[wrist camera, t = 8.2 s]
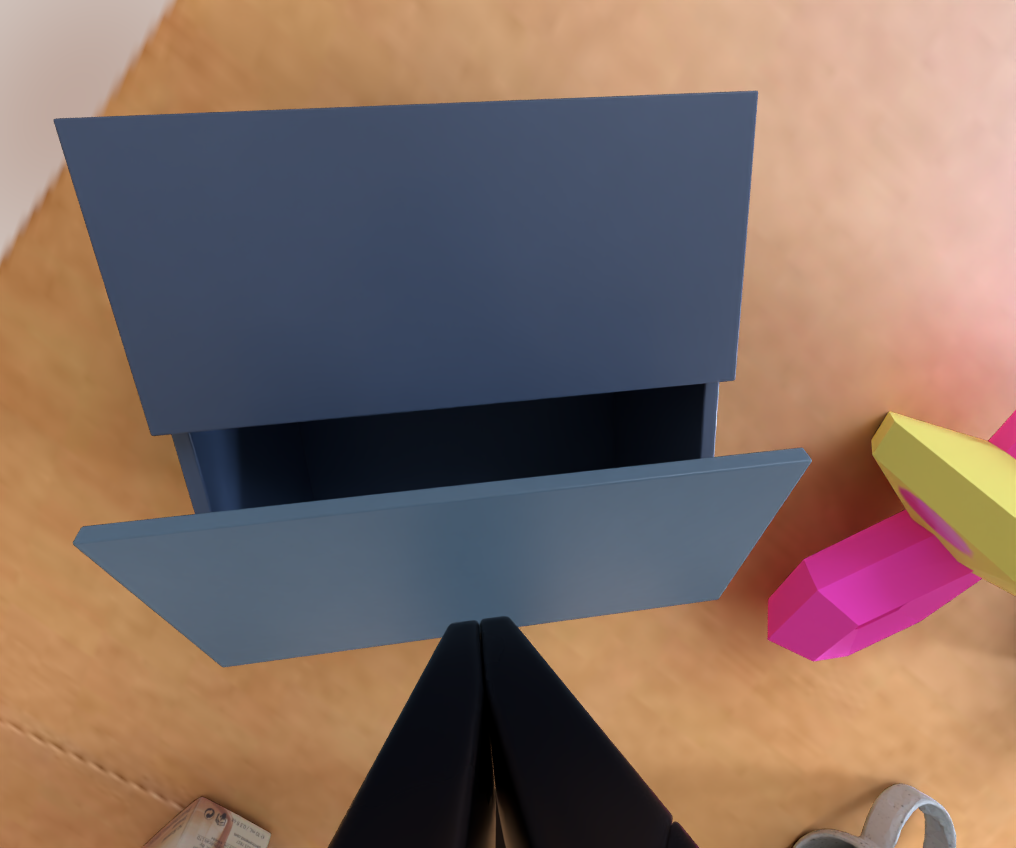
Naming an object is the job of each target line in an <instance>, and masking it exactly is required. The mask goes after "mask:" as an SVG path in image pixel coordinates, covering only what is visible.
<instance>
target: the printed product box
mask: <svg viewBox="0 0 1016 848" xmlns="http://www.w3.org/2000/svg"><path fill="white" fill-rule="evenodd" d="M270 837H271V833H269V832H268V831H266V830H264V829H262V828H260V827H259V826H257V825H255V824H253V823H251V822H250V821H248V820H246V819H244V818H243V817H241V816H239V815H237V814H235V813H233V812H231V811H229V810H227V809H225V808H224V807H222V806H220V805H218V804H216V803H214V802H212V801H210V800H208V799H206V798H204V797H200V798H198V799H197V800H195V801H194V802H193V803H192V804H190V805H189V806H188V807H187V808H185V809H184V810H183V811H182V812H181V813H180V814H178V815H177V816H176V817H175V818H174V819H172V820H171V821H170V822H169V823H168V824H167V825H166V826H165V827H163V828H162V829H161V830H160V831H159V832H158V833H157V834H156V835H155V836H154V837H153V838H152V839H150V840H149V841H148V842H147V843H146V844H145V845H144V846H143V847H142V848H267V846H268V844H269V840H270Z"/></svg>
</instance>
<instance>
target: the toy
mask: <svg viewBox="0 0 1016 848" xmlns="http://www.w3.org/2000/svg"><path fill="white" fill-rule="evenodd" d="M871 441H872V455H873V457H874V458H875V460H876V462H877V463H878V465H879V466H880V468H881V470H882V471H883V473H884V475H885V476H886V478H887V479H888V481H889V483H890V484H891V486H892V488H893V489H894V491H895V492H896V494H897V496H898V497H899V499H900V500H901V502H902V504H903V505H904V507H905V510H903V511H901V512H899V513H897V514H895V515H893V516H891V517H889V518H887V519H885V520H883V521H881V522H879V523H877V524H875V525H873V526H870V527H868V528H866V529H864V530H862V531H860V532H858V533H856V534H854V535H852V536H850V537H848V538H846V539H844V540H842V541H840V542H838V543H836V544H834V545H832V546H830V547H828V548H826V549H823V550H821V551H819V552H817V553H815V554H813V555H811V556H809V557H807V558H805V559H803V560H802V562H801V563H800V564H799V565H798V566H797V567H796V568H795V569H794V571H793V572H792V573H791V574H790V575H789V576H788V577H787V578H786V580H785V581H784V582H783V583H782V584H781V585H780V586H779V587H778V589H777V590H776V591H775V592H774V593H773V594H772V595H771V596H770V598H769V599H768V640H769V641H771V642H774V643H776V644H778V645H780V646H782V647H784V648H786V649H788V650H790V651H792V652H795V653H797V654H799V655H801V656H803V657H805V658H807V659H809V660H811V661H819V660H825V659H832V658H838V657H844V656H849V655H851V654H853V653H855V652H857V651H859V650H861V649H863V648H866V647H868V646H870V645H872V644H874V643H876V642H878V641H880V640H882V639H884V638H887V637H889V636H891V635H893V634H895V633H897V632H899V631H901V630H903V629H906V628H908V627H910V626H912V625H914V624H916V623H918V622H920V621H922V620H923V619H924V618H926V617H927V616H929V615H930V614H932V613H933V612H935V611H936V610H937V609H939V608H940V607H942V606H943V605H945V604H946V603H948V602H949V601H951V600H952V599H953V598H955V597H956V596H958V595H959V594H961V593H962V592H964V591H965V590H966V589H968V588H969V587H971V586H972V585H974V584H975V583H977V582H978V581H979V580H981V579H984V580H986V581H988V582H990V583H992V584H994V585H995V586H997V587H999V588H1001V589H1003V590H1005V591H1007V592H1008V593H1010V594H1012V595H1014V596H1016V410H1015V411H1014V413H1013V414H1012V415H1011V416H1010V417H1009V418H1008V419H1007V420H1006V422H1005V423H1004V424H1003V425H1002V426H1001V427H1000V428H999V429H998V431H997V432H996V433H995V434H994V435H993V436H992V437H991V438H990V440H989V441H986V440H983V439H979V438H976V437H973V436H969V435H966V434H963V433H959V432H956V431H953V430H949V429H946V428H943V427H939V426H936V425H933V424H929V423H926V422H923V421H920V420H916V419H913V418H910V417H906V416H903V415H900V414H896V413H893V412H890V411H889V412H888V414H887V415H886V417H885V419H884V420H883V422H882V424H881V425H880V427H879V428H878V430H877V432H876V433H875V435H874V437H873V438H872V440H871Z"/></svg>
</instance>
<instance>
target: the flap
mask: <svg viewBox="0 0 1016 848" xmlns="http://www.w3.org/2000/svg"><path fill="white" fill-rule="evenodd" d="M811 462H812V460H811V458H810V457H809V455H808V454H807V453H806V451H805V450H804V449H803V448H793V449H784V450H775V451H766V452H756V453H747V454H738V455H729V456H720V457H711V458H702V459H693V460H684V461H675V462H665V463H656V464H647V465H638V466H629V467H620V468H611V469H602V470H593V471H583V472H574V473H565V474H556V475H547V476H538V477H529V478H520V479H511V480H502V481H492V482H483V483H474V484H465V485H456V486H447V487H438V488H429V489H420V490H411V491H401V492H392V493H383V494H374V495H365V496H356V497H347V498H338V499H329V500H319V501H310V502H301V503H292V504H283V505H274V506H265V507H256V508H247V509H238V510H228V511H219V512H210V513H201V514H192V515H183V516H174V517H165V518H156V519H146V520H137V521H128V522H119V523H110V524H101V525H92V526H83V527H82V528H81V529H80V531H79V532H78V534H77V536H76V538H75V540H74V541H73V545H74V546H75V547H77V548H78V549H79V550H80V551H81V552H83V553H84V554H85V555H86V556H88V557H89V558H90V559H91V560H92V561H94V562H95V563H96V564H97V565H99V566H100V567H101V568H102V569H103V570H105V571H106V572H107V573H108V574H109V575H111V576H112V577H113V578H114V579H116V580H117V581H118V582H119V583H120V584H122V585H123V586H124V587H125V588H127V589H128V590H129V591H130V592H131V593H133V594H134V595H135V596H136V597H138V598H139V599H140V600H141V601H142V602H144V603H145V604H146V605H147V606H148V607H150V608H151V609H152V610H153V611H155V612H156V613H157V614H158V615H159V616H161V617H162V618H163V619H164V620H166V621H167V622H168V623H169V624H170V625H172V626H173V627H174V628H175V629H177V630H178V631H179V632H180V633H181V634H183V635H184V636H185V637H186V638H187V639H189V640H190V641H191V642H192V643H194V644H195V645H196V646H197V647H198V648H200V649H201V650H202V651H203V652H205V653H206V654H207V655H208V656H209V657H211V658H212V659H213V660H214V661H215V662H217V663H218V664H219V665H220V666H222V667H230V666H237V665H244V664H251V663H259V662H266V661H273V660H281V659H288V658H295V657H303V656H310V655H317V654H324V653H332V652H339V651H346V650H354V649H361V648H368V647H375V646H383V645H390V644H397V643H405V642H412V641H419V640H426V639H434V638H441V637H442V636H443V635H444V633H445V631H446V629H447V627H448V626H449V625H450V624H451V623H455V622H462V621H470V620H476V621H478V623H479V626H480V622H481V620H482V619H485V618H492V617H500V616H507V617H509V618H510V619H511V620H512V621H513V622H514V623H515V625H516V626H517V627H521V626H528V625H536V624H543V623H550V622H558V621H565V620H572V619H579V618H587V617H594V616H601V615H609V614H616V613H623V612H630V611H638V610H645V609H652V608H660V607H667V606H674V605H681V604H689V603H696V602H703V601H711V600H718V599H719V598H720V596H721V595H722V593H723V592H724V590H725V589H726V587H727V586H728V584H729V583H730V581H731V580H732V578H733V577H734V575H735V574H736V573H737V571H738V570H739V568H740V567H741V565H742V564H743V562H744V561H745V559H746V558H747V556H748V555H749V553H750V552H751V550H752V549H753V547H754V546H755V544H756V543H757V542H758V540H759V539H760V537H761V536H762V534H763V533H764V531H765V530H766V528H767V527H768V525H769V524H770V522H771V521H772V519H773V518H774V516H775V515H776V513H777V512H778V510H779V509H780V508H781V506H782V505H783V503H784V502H785V500H786V499H787V497H788V496H789V494H790V493H791V491H792V490H793V488H794V487H795V485H796V484H797V482H798V481H799V479H800V478H801V477H802V475H803V474H804V472H805V471H806V469H807V468H808V466H809V465H810V463H811Z"/></svg>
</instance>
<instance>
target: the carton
mask: <svg viewBox="0 0 1016 848" xmlns="http://www.w3.org/2000/svg"><path fill="white" fill-rule="evenodd" d="M757 99H758V91H737V92H712V93H687V94H662V95H637V96H612V97H586V98H561V99H536V100H511V101H486V102H461V103H436V104H411V105H386V106H361V107H335V108H310V109H285V110H260V111H235V112H210V113H185V114H160V115H135V116H110V117H87V118H86V117H85V118H60V119H54V124H55V127H56V130H57V133H58V136H59V140H60V143H61V146H62V150H63V153H64V156H65V159H66V162H67V166H68V169H69V172H70V175H71V179H72V182H73V185H74V188H75V191H76V195H77V198H78V201H79V204H80V208H81V211H82V214H83V217H84V220H85V224H86V227H87V230H88V233H89V237H90V240H91V243H92V246H93V249H94V253H95V256H96V259H97V262H98V265H99V269H100V272H101V275H102V278H103V282H104V285H105V288H106V291H107V294H108V298H109V301H110V304H111V307H112V311H113V314H114V317H115V320H116V323H117V327H118V330H119V333H120V336H121V340H122V343H123V346H124V349H125V352H126V356H127V359H128V362H129V365H130V369H131V372H132V375H133V378H134V381H135V385H136V388H137V391H138V394H139V397H140V401H141V404H142V407H143V410H144V414H145V417H146V420H147V423H148V426H149V430H150V433H151V435H152V436H159V435H169V434H171V435H172V438H173V441H174V445H175V448H176V451H177V455H178V458H179V461H180V465H181V468H182V472H183V475H184V478H185V482H186V485H187V488H188V492H189V495H190V499H191V502H192V505H193V509H194V512H195V514H201V513H210V512H219V511H228V510H238V509H247V508H256V507H265V506H274V505H283V504H292V503H301V502H310V501H319V500H329V499H338V498H347V497H356V496H365V495H374V494H383V493H392V492H401V491H411V490H420V489H429V488H438V487H447V486H456V485H465V484H474V483H483V482H492V481H502V480H511V479H520V478H529V477H538V476H547V475H556V474H565V473H574V472H583V471H593V470H602V469H611V468H620V467H629V466H638V465H647V464H656V463H665V462H675V461H684V460H693V459H702V458H711V457H714V452H715V438H716V423H717V409H718V395H719V382H724V381H734V380H735V376H736V364H737V351H738V339H739V326H740V313H741V301H742V288H743V276H744V263H745V250H746V238H747V225H748V213H749V200H750V187H751V175H752V162H753V149H754V137H755V124H756V112H757Z"/></svg>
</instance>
